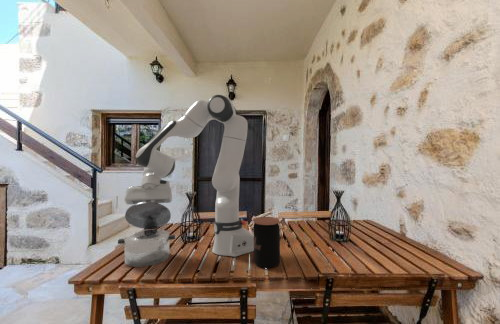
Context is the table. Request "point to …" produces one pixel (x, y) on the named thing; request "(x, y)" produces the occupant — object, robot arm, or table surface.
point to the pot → (146, 247)
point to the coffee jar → (266, 242)
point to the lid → (147, 215)
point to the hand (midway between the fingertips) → (147, 210)
